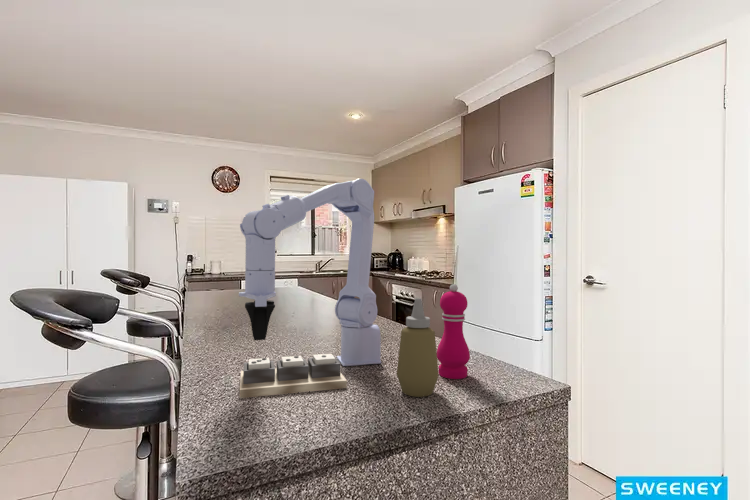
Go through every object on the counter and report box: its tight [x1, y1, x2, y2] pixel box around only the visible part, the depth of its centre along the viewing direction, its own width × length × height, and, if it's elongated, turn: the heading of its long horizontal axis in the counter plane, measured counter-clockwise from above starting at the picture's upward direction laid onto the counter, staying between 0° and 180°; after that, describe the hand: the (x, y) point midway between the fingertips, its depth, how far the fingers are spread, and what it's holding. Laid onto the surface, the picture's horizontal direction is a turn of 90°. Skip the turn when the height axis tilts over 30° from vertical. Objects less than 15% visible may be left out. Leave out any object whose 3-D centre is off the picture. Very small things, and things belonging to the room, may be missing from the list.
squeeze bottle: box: [396, 297, 440, 398], centre depth 76 cm, size 8×8×18 cm
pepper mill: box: [436, 283, 471, 380], centre depth 87 cm, size 7×7×20 cm
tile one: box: [312, 353, 336, 365], centre depth 83 cm, size 4×4×2 cm
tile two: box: [281, 355, 304, 367], centre depth 81 cm, size 4×4×2 cm
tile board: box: [238, 356, 348, 399], centre depth 81 cm, size 20×12×4 cm, turn 107°
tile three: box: [248, 357, 271, 370], centre depth 79 cm, size 4×4×2 cm
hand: (259, 338), depth 79 cm, fingers closed
